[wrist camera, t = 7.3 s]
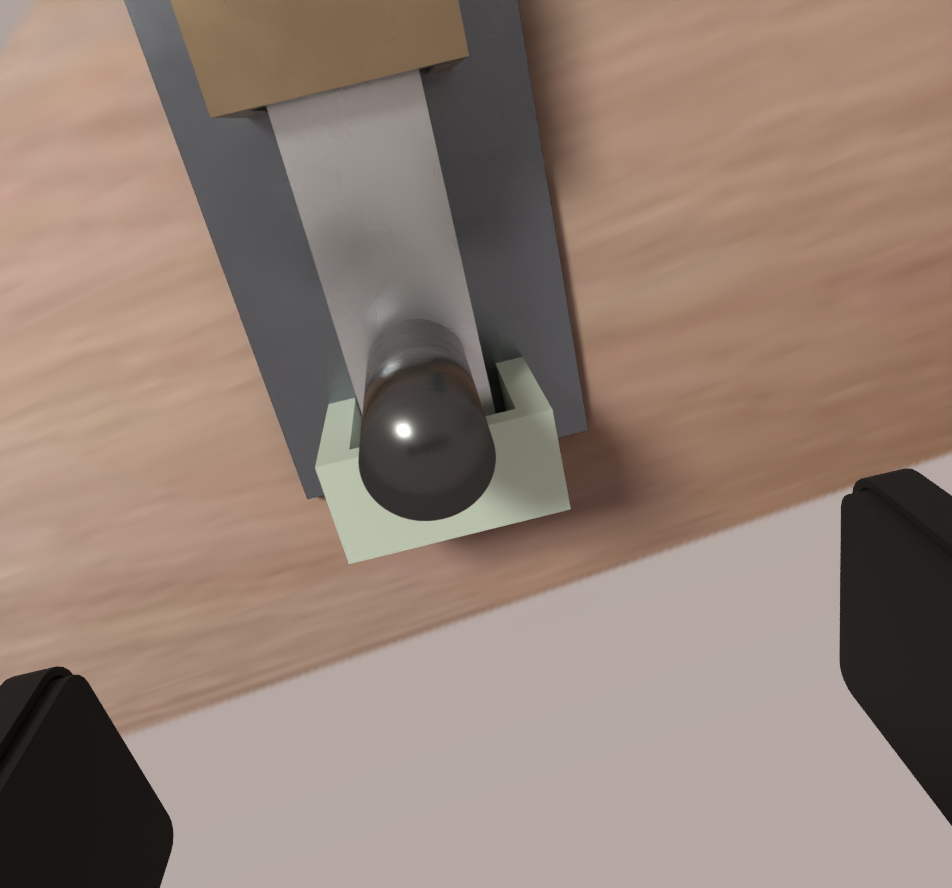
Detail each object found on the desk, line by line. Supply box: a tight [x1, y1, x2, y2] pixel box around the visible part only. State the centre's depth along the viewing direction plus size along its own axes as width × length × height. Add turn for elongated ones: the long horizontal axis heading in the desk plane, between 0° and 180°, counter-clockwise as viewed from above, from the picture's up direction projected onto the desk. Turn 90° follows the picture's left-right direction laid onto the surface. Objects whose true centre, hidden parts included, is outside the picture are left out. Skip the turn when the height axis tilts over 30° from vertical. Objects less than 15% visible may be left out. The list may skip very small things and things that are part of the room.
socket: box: [315, 357, 571, 564], centre depth 24 cm, size 7×4×5 cm, turn 102°
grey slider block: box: [266, 70, 496, 521], centre depth 19 cm, size 4×14×10 cm, turn 12°
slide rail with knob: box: [124, 0, 588, 499], centre depth 21 cm, size 11×22×6 cm, turn 12°
